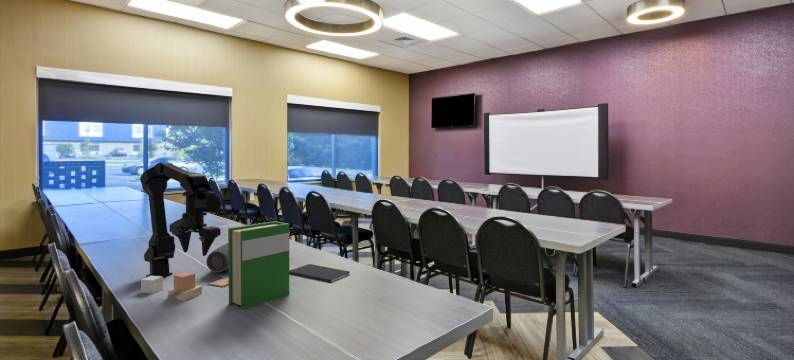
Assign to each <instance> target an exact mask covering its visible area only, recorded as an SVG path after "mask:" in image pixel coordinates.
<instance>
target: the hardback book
mask: <svg viewBox="0 0 794 360" xmlns="http://www.w3.org/2000/svg"><path fill="white" fill-rule="evenodd" d="M227 230H228V231H227V235H228V238H227V240H228V241H227V243H228V266H229V270H228V280H229V285H228V305H230V306H231V305H234V304H236V305H238V306H240V310H242V311H243V310H246V309H249V308H251V307H255V306H258V305H261V304H264V303H268V302H270V301H274V300H276V299H279V298H282V297H285V296H289V295H290V274H289V271H290V223H286V222H283V221H282V222H280V221H268V222H267V221H266V222H261V223H260V222H259V223H255V224H248V225H241V226H234V227H228V228H227Z"/></svg>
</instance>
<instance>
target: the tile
mask: <svg viewBox="0 0 794 360" xmlns="http://www.w3.org/2000/svg"><path fill="white" fill-rule="evenodd" d="M207 285H208V286H212V287H218V288H225V287H227V286H229V279H226V278H221V279H218V280H216V281H212V282H210V283H207Z"/></svg>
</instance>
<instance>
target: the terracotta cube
mask: <svg viewBox="0 0 794 360" xmlns="http://www.w3.org/2000/svg"><path fill="white" fill-rule="evenodd" d="M195 285H196V273H192V272H189V271H185V272H180V273H177V274H174V275H173V288H174V289H177V290H181V291H185V290H188V289H191V288H194V287H195Z"/></svg>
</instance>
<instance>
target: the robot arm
mask: <svg viewBox="0 0 794 360" xmlns="http://www.w3.org/2000/svg"><path fill="white" fill-rule="evenodd" d="M171 179H172V180H174V181H176V182H178V183H179V186H180V188H182V189H184V192H183V193H182V196H183V197H185V212H183V213H182V214H181V218H178V219H177V220H175V221H173V222H171V223H170V224H168V225H169V228H168V225H167V217H166V216H167V215H166V207H165V197H164V194H165V191H166V190H167V188H168V182H169V181H170V180H171ZM139 180H140V183H141V187H142V190H143V192H144V193H146V195H147V196H148V203H149V205H148V206H149V213H150V221H151V230H152V235H151V237H150V238H149V240H148V248H147V249H146V250H145V252H144V254H143V259H144V261H145V262H147V263H149V274H146V275H145V277H149V276H163V278H164V277H168V276H171V275H173V272H170V260H169V259H173V258H174V255H175V252H176V242H175V237H176V238H178V242H179V243H180V245H181V247H182V251H183V252H184V253H187V252H188V251H189V246H190V242H191V236H192V233H197V234H198V236H199V237H198V239H199V240H200V242H201V253H202V256H203V257H205V256H208V252H209V251H210V248H211V246H212V245H213V243H214V241H215V240H216V238H218V237H219V236H221V231H222V229H221V228H220V227H219V226H213V225H211V226H208V225H207V223H205V216H207V215H208V214H207V213H210V214H214V213H217V212H218V211H219V210H220V208H221V205H222V202H221V200H220V198H219V197H218V196H216V192H214V191H213V188H212V186H211V184H210V182H209V180H208V178H207V175H206V174H204V173H201V172H191V171H188V170H185V169H184V168H181V167H178V166H176V165H174V163H172V162H166V161H165V162H158V163H156V164H155V165H154V166H152V167H149V168H148V169H146V170H145V171H144V172H143V173H142V174H141V175H140V179H139ZM168 229H169V232H168ZM170 233H171V234H172V235H171V234H170ZM174 236H175V237H174Z"/></svg>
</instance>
